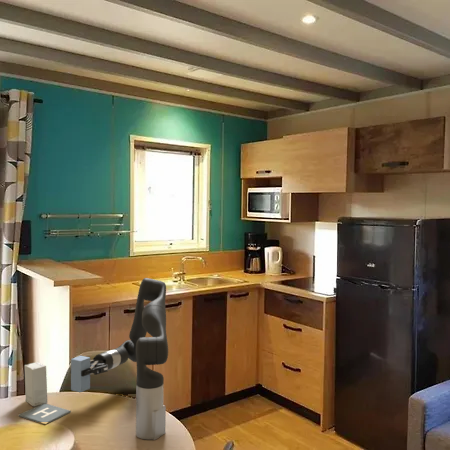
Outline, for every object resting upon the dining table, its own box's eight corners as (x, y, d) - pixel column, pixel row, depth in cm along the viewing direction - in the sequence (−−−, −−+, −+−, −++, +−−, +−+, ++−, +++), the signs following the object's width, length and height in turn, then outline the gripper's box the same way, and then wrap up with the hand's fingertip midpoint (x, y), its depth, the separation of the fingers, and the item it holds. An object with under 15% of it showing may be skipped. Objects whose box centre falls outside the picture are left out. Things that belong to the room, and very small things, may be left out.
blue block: (90, 388, 184) (90, 357, 184) (80, 392, 180) (80, 361, 179) (80, 385, 186) (80, 355, 186) (70, 390, 182) (71, 359, 182)
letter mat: (70, 412, 179) (70, 410, 179) (45, 424, 168) (45, 422, 168) (44, 404, 186) (44, 403, 185) (18, 416, 175) (18, 414, 175)
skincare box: (47, 403, 187) (47, 366, 186) (32, 407, 183) (32, 369, 182) (39, 397, 193) (39, 360, 192) (23, 401, 189) (24, 364, 188)
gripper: (94, 349, 199) (62, 360, 184) (120, 354, 192) (90, 365, 177) (94, 367, 199) (62, 379, 184) (120, 372, 193) (90, 385, 177)
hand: (76, 372), depth 181 cm, fingers closed on blue block, 5 cm apart
